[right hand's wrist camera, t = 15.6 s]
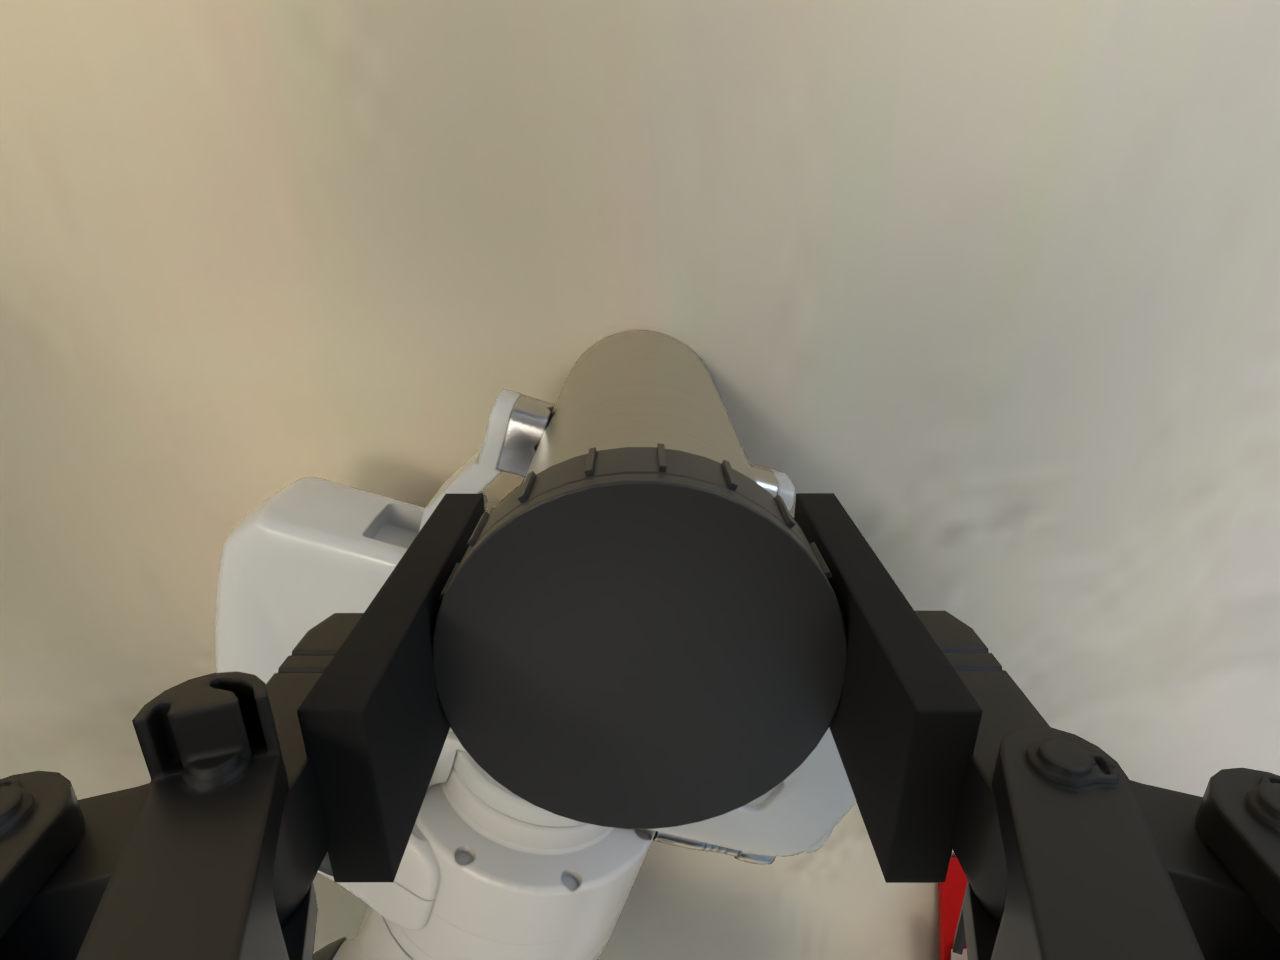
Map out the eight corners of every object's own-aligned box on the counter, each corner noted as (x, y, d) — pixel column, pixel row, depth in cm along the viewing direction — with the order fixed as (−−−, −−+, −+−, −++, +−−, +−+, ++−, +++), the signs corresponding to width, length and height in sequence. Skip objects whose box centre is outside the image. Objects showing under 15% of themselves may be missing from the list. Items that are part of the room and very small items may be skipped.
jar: (681, 499, 26) (729, 825, 12) (542, 450, 26) (425, 735, 12) (741, 363, 24) (877, 566, 10) (592, 305, 24) (526, 441, 10)
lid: (821, 756, 13) (844, 824, 12) (481, 774, 13) (462, 843, 12) (834, 430, 11) (864, 463, 9) (421, 456, 11) (388, 492, 10)
